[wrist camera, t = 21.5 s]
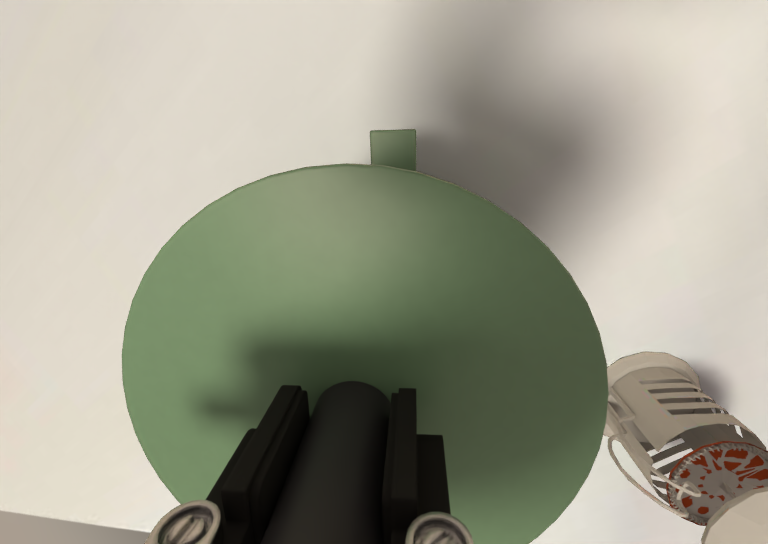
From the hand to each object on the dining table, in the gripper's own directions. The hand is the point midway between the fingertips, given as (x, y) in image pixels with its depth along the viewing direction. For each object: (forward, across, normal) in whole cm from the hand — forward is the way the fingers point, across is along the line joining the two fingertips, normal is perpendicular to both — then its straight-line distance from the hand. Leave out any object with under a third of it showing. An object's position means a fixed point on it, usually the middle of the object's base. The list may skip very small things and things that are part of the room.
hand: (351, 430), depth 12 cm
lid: (+1, 0, 0) cm, 1 cm away
